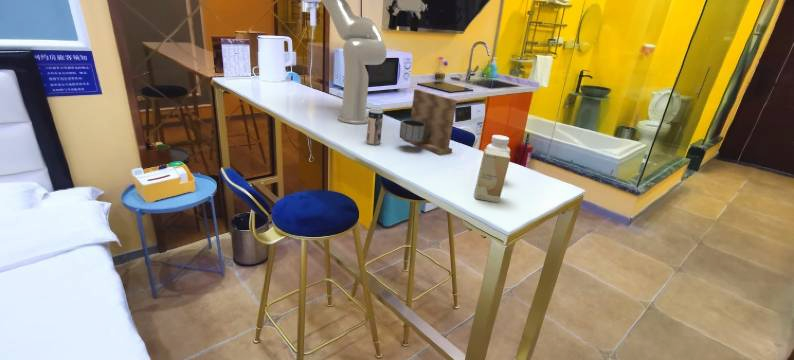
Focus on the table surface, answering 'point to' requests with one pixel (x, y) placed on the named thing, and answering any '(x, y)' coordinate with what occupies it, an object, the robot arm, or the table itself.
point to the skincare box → (491, 175)
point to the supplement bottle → (499, 143)
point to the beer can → (374, 126)
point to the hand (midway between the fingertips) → (403, 30)
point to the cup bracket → (430, 122)
